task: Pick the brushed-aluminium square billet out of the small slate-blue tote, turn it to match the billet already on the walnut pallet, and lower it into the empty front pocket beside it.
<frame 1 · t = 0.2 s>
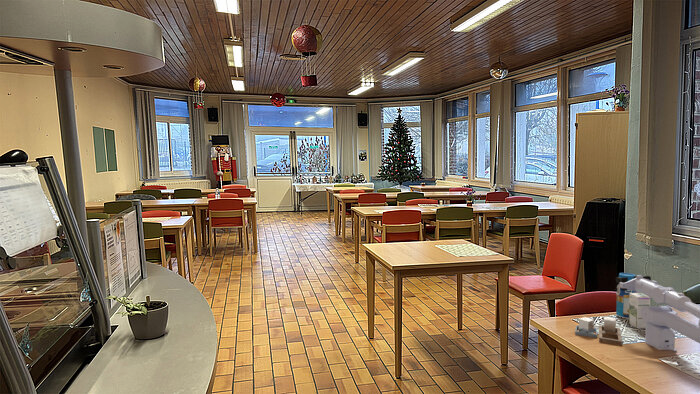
hand: (625, 278, 184), 21 cm above the table, tool horizontal, fingers open, 7 cm apart
pallet: (609, 338, 174), on the table
beverage bottle: (626, 317, 200), on the table
tote: (586, 334, 178), on the table
loose billet: (586, 333, 178), resting on tote
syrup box: (639, 327, 186), on the table
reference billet: (609, 333, 178), point 1 cm above the table, touching pallet
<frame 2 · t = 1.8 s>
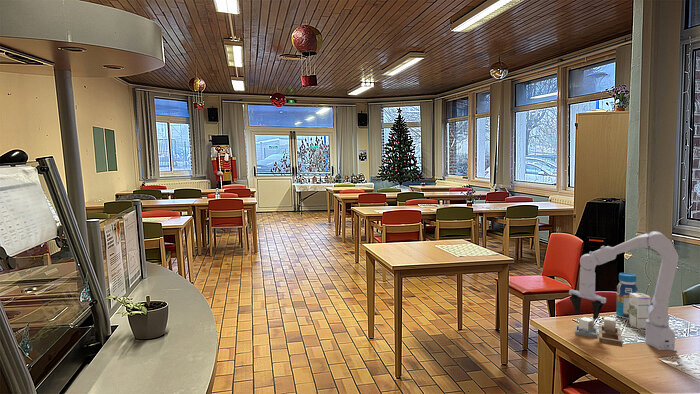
hand: (586, 315, 178), 8 cm above the table, tool pointing down, fingers open, 7 cm apart
nothing on the table moved.
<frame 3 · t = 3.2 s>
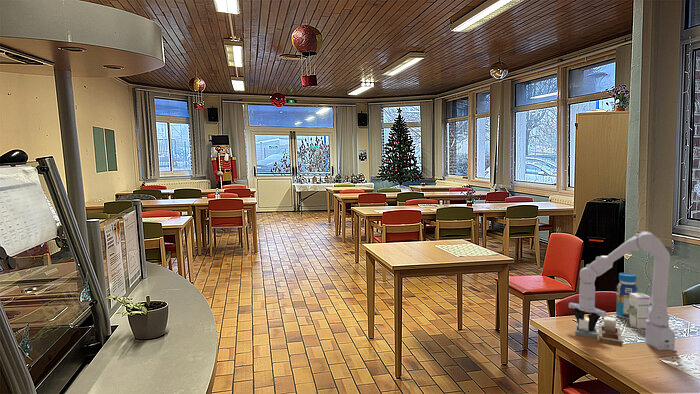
hand: (586, 329, 178), 2 cm above the table, tool pointing down, fingers closed on loose billet, 4 cm apart
loose billet: (586, 333, 178), resting on tote, touching gripper
everything else where it was.
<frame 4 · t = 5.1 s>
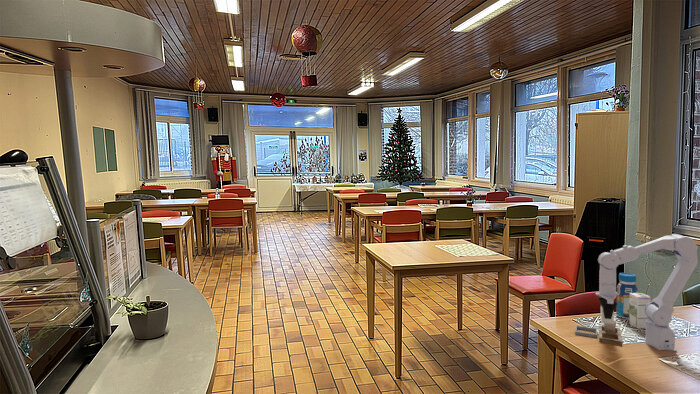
hand: (606, 316, 171), 10 cm above the table, tool pointing down, fingers closed on loose billet, 4 cm apart
loose billet: (606, 321, 171), point 8 cm above the table, touching gripper
everything else where it was.
when the fingers open (4 cm above the table, at t = 7.2 s): loose billet stays where it is, resting on pallet.
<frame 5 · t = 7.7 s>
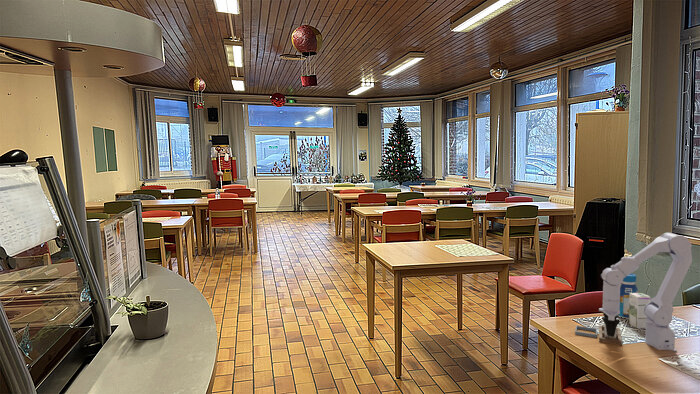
hand: (610, 332, 170), 4 cm above the table, tool pointing down, fingers open, 7 cm apart
loose billet: (610, 340, 170), point 1 cm above the table, touching pallet
everything else where it was.
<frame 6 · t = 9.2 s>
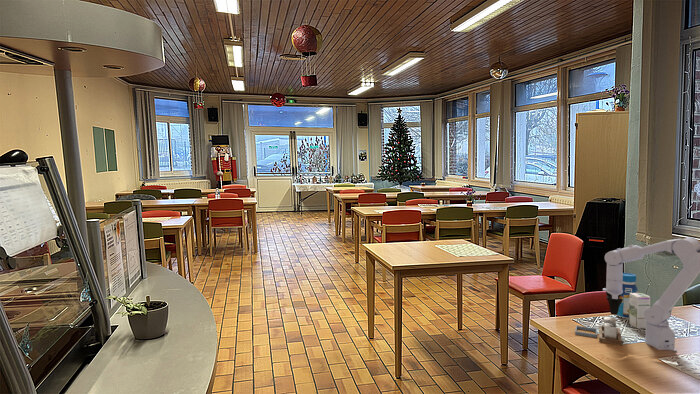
hand: (613, 311, 178), 9 cm above the table, tool pointing down, fingers open, 7 cm apart
nothing on the table moved.
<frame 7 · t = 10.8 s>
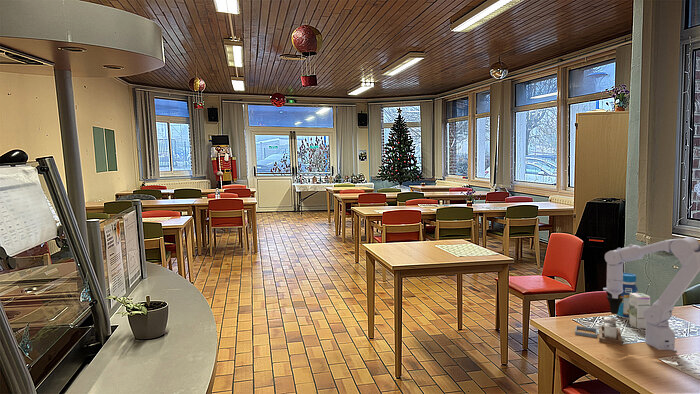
hand: (613, 311, 179), 9 cm above the table, tool pointing down, fingers open, 7 cm apart
nothing on the table moved.
at the end: loose billet 0.0 cm from the target spot on the pallet, point 0.8 cm above the pallet's base; loose billet tilted 0°; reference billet moved 0.0 cm from its start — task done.
